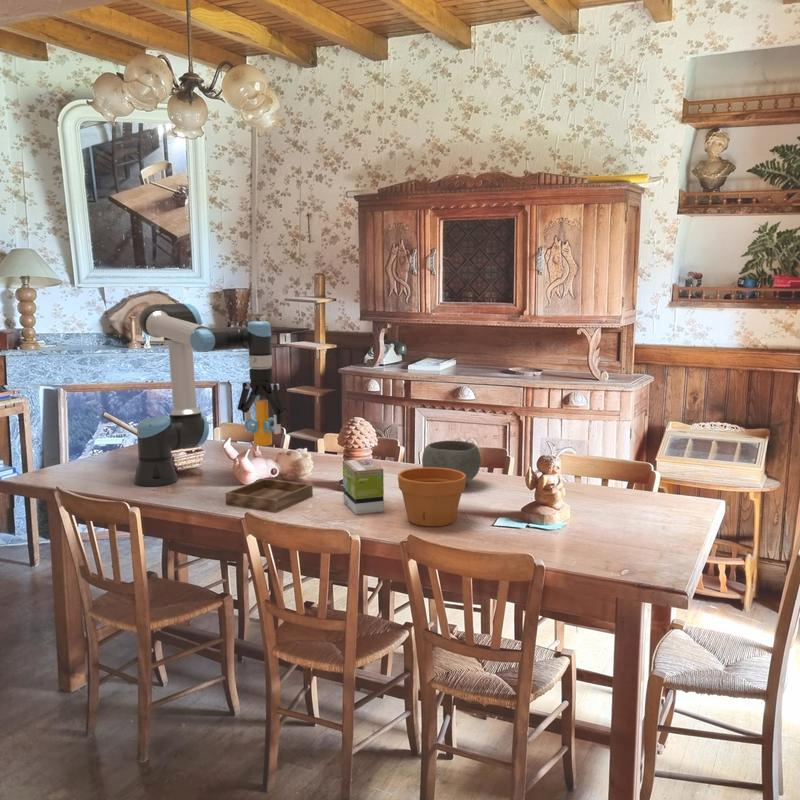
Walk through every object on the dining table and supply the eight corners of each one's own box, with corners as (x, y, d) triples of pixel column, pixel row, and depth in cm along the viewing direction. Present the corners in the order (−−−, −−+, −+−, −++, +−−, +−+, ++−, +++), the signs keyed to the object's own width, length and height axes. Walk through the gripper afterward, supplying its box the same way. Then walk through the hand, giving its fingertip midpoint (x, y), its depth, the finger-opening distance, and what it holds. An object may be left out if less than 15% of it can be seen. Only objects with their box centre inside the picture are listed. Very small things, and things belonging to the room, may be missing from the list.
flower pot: (403, 509, 274) (404, 464, 271) (468, 512, 270) (468, 467, 268) (392, 528, 253) (392, 480, 251) (461, 532, 249) (462, 484, 247)
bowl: (453, 475, 318) (454, 437, 316) (492, 487, 302) (493, 446, 299) (410, 484, 305) (410, 443, 303) (447, 496, 289) (448, 453, 287)
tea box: (342, 502, 281) (341, 459, 279) (370, 500, 284) (370, 457, 282) (354, 515, 267) (354, 469, 265) (384, 512, 270) (384, 467, 268)
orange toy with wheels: (284, 441, 288) (283, 398, 286) (277, 447, 278) (275, 402, 275) (249, 441, 289) (248, 398, 287) (241, 447, 279) (239, 402, 277)
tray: (226, 504, 278) (225, 492, 277) (264, 489, 297) (264, 478, 297) (276, 512, 269) (275, 500, 269) (312, 496, 289) (312, 484, 288)
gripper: (225, 367, 281) (227, 431, 284) (284, 370, 271) (285, 436, 274) (238, 365, 288) (241, 428, 291) (296, 368, 278) (298, 432, 281)
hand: (262, 432), depth 283 cm, fingers closed on orange toy with wheels, 11 cm apart
